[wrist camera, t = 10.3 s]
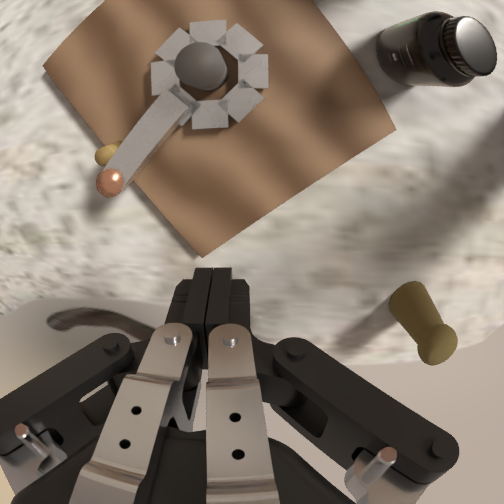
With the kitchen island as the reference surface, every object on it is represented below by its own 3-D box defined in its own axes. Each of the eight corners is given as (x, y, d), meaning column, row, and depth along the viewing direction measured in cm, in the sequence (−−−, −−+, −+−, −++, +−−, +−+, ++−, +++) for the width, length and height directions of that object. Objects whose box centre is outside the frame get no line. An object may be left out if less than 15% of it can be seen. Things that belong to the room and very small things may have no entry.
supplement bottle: (369, 23, 22) (433, -6, 11) (423, 29, 21) (496, 15, 11) (379, 85, 25) (450, 84, 14) (432, 87, 25) (509, 94, 14)
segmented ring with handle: (209, 4, 20) (203, -12, 16) (291, 72, 23) (300, 67, 19) (84, 150, 25) (62, 159, 21) (157, 212, 29) (144, 230, 25)
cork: (424, 309, 39) (458, 362, 29) (388, 321, 39) (418, 379, 29) (427, 276, 36) (469, 328, 26) (389, 287, 36) (425, 346, 27)
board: (230, -73, 16) (226, -118, 8) (390, 128, 27) (438, 141, 19) (49, 66, 22) (-3, 65, 14) (203, 251, 33) (192, 301, 25)
